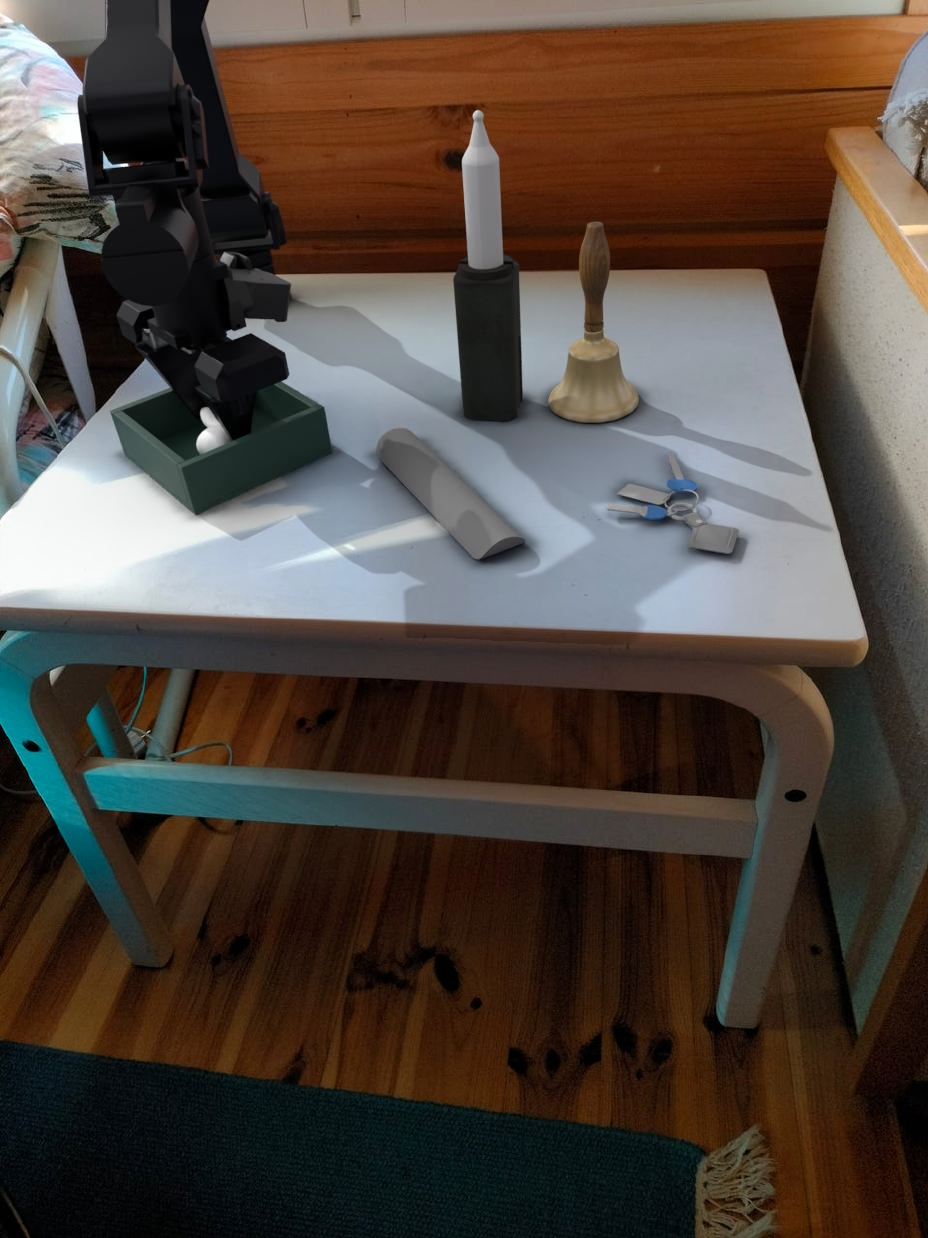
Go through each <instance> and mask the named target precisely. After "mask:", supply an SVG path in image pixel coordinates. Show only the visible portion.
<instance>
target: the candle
mask: <svg viewBox="0 0 928 1238" xmlns="http://www.w3.org/2000/svg"><path fill="white" fill-rule="evenodd" d="M484 117H485V114H484V113H483V111H481V110H478V109H477V110H475V111H474V112H473V114H472V119H473V125H472V129H471V130H472V131H471V135H470V140H469V144H468V147H467V148H466V150H465V152H464V155H463V156H462V159H461V169H462V170H461V171H462V184H463V200H464V203H463V204H464V215H465V217H464V218H465V232H466V248H467V256H466V257H464V258H462V259H461V260H460V261H459V262H460V263H458V268H457V270H456V272H455V274H454V275H453V278H452V282H453V294H454V295H453V296H454V297H453V298H454V308H455V309H454V311H455V322H456V323H455V324H456V336H457V337H456V338H457V347H458V348H457V349H458V362H459V363H458V364H459V373H460V375H459V376H460V390H461V402H462V415H463V417H465V418H466V419H467V420H473V421H492V422H493V421H495V422H497V421H498V422H508V421H512V420H515V419H516V418H517V417H518V416H519V408H520V404H521V403H522V402H523V401H524V393H523V392H524V391H523V390H524V389H523V356H522V328H521V327H522V324H521V293H520V292H521V290H520V288H521V287H520V265H519V262H517V261H515V260H514V259H513V258H512V257H511V256H510V255H507V254H505V253H504V249H503V248H504V246H503V224H502V223H503V222H502V200H501V199H502V196H501V195H502V194H501V175H500V174H501V173H500V172H501V171H500V170H501V169H500V156H499V154H498V153H497V151H496V150H495V149H494V147H493V146H492V144H491V141H490V139H489V136H488V132H487V129H486V127H485V124H484V121H483V120H484Z"/></svg>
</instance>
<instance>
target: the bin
mask: <svg viewBox="0 0 928 1238" xmlns="http://www.w3.org/2000/svg"><path fill="white" fill-rule="evenodd" d="M207 407H208V406H207ZM109 412H110V416H111V419H112V421H113V425H114V427H115V431H116V434H117V436H118V440H119V442H120V446H121V448H122V451H123V453H124V456H125V457H127V458H128V459H129V460H130V461H131V462H132V463H134V465H136V466H137V467H138V468H139V469H141V470H142V471H143V472H144V474H146V475H148V476H149V477H150V478H151V479H152V480H153V481H155V482H156V483H157V484H158V485H159V486H160V487H162V488H163V489H164V490H166V492H168V493H169V494H170V495H171V496H173V497H174V498H175V499H176V500H177V501H178V502H180V504H182V505H183V506H184V507H185V508H187V509H188V510H189V511H190V512H191V513H193V514H194V515H195V516H196V515H198V514H199V515H200V514H201V513H203V512H205V511H207V510H210V509H212V508H214V507H216V506H218V505H221V504H223V503H226V502H227V501H230V500H232V499H234V498H236V497H238V496H241V495H243V494H245V493H247V492H250V491H251V490H253V489H255V488H258V487H260V486H262V485H264V484H267V483H269V482H270V481H274V480H275V479H278V478H280V477H282V476H284V475H287V474H289V473H291V472H292V471H293V472H294V471H295V470H298V469H300V468H302V467H304V466H306V465H308V464H310V463H313V462H315V461H317V460H319V459H321V458H324V457H326V456H328V455H330V454H332V453H333V447H332V441H331V436H330V431H329V424H328V420H327V415H326V409H325V406H324V405H322V404H321V403H319V402H317V401H315V400H313V399H312V398H310V397H308V396H306V395H305V394H303V393H302V392H300V391H298V390H297V389H296V388H294V387H291V386H290V385H289V384H287V383H286V382H283V381H281V382H278V383H276V384H274V385H271V386H269V387H266V388H264V389H261V390H259V391H258V392H257V395H256V400H255V404H254V411H253V420H252V428H251V433H250V434H248V435H245V436H243V437H241V438H238V439H236V440H234V441H231V442H229V443H227V444H224V445H222V446H220V447H217V448H215V449H213V450H210V451H208V452H205V453H203V454H201V455H200V453H199V452H198V450H197V446H196V443H197V439H198V437H199V435H200V434H201V433H202V432H203V431H204V430H205V429H207V427H206V426H205V425H204V423H203V421H202V420H201V419H196V418H195V417H194V416H193V414H192V413H191V412H190V411H189V410H188V408H187V407H186V406H185V405H184V404H183V402H182V401H181V400H180V399H179V397H178V396H177V395H176V394H175V393H174V391H173V390H172V389H171V388H170V387H168V388H165V389H163V390H160V391H158V392H155V393H152V394H150V395H147V396H145V397H141V398H139V399H136V400H134V401H131V402H129V403H126V404H124V405H121V406H119V407H115V408H113V409H110V410H109Z"/></svg>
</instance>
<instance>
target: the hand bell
mask: <svg viewBox="0 0 928 1238" xmlns="http://www.w3.org/2000/svg"><path fill="white" fill-rule="evenodd" d="M610 270H611V253H610V247H609V243H608V239H607V236H606V233H605V228H604V223H603V222H601V221H590V222H588V223H587V224H586V229H585V234H584V237H583V240H582V242H581V246H580V251H579V257H578V271H579V279H580V284H581V288H582V291H583V296H584V303H585V304H584V318H583V319H584V323H583V328H584V331H583V337H582V338H579V339H577V340H575V341H574V342H572V343H571V344H570V346H569V348H568V352H567V362H566V365H565V366H566V367H565V371H564V374H563V376H562V378H561V381H560V382H559V383H558V384H557V385H556V386H555V387H554V388H553V389H552V391H551V392H550V394H549V396H548V400H547V402H548V407H549V409H550V410H551V411H552V412H553V413H554V414H555V415H557V416H558V417H560V418H563V419H565V420H568V421H571V422H576V423H583V424H584V423H585V424H590V423H591V424H592V423H593V424H599V423H607V422H612V421H616V420H619V419H622V418H624V417H626V416H627V415H629V414H632V412H634V410H635V409H637V408H638V406H639V402H640V400H639V399H640V397H639V394H638V392H637V390H636V389H635V388H634V386H633V385H632V384H631V383H630V382H628V380H627V379H626V377H625V375H624V372H623V369H622V365H621V357H620V347H619V345H618V343H617V342H616V341H614V340H613V339H611V338H608V337H605V335H604V330H605V329H604V327H605V326H604V325H605V324H604V296H605V293H606V289H607V286H608V283H609V278H610V272H611V271H610Z"/></svg>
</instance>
